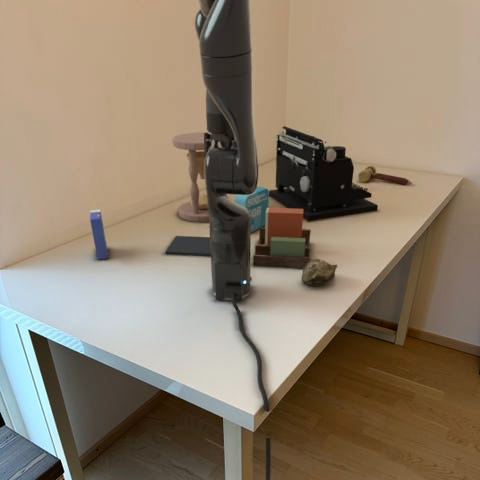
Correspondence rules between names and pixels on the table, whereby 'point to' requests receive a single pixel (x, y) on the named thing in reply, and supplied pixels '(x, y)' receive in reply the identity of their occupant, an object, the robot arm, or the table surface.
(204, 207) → the hourglass
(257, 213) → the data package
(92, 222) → the walkman
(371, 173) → the gavel
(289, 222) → the book
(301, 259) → the book rack
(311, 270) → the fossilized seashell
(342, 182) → the typewriter
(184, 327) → the table surface
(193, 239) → the slate mat
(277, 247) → the paperback
